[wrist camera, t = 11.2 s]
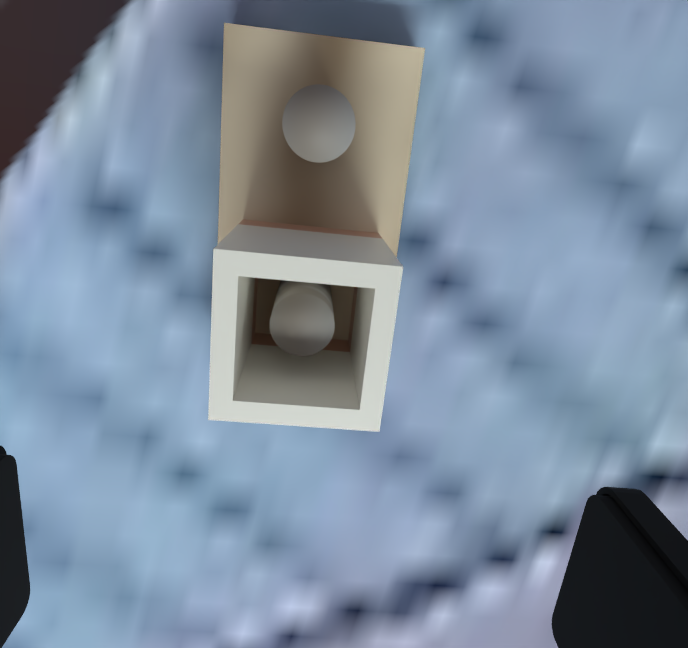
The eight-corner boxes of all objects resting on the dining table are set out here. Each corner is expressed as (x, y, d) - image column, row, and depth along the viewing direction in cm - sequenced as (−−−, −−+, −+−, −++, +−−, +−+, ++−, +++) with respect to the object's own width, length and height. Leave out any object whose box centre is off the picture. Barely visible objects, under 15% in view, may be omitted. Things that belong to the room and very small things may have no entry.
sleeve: (378, 233, 24) (402, 266, 17) (362, 357, 25) (379, 431, 19) (243, 219, 23) (213, 248, 16) (236, 347, 25) (208, 419, 18)
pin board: (416, 56, 23) (456, 19, 16) (376, 352, 27) (396, 417, 21) (231, 33, 22) (196, -15, 16) (221, 340, 27) (191, 403, 20)
